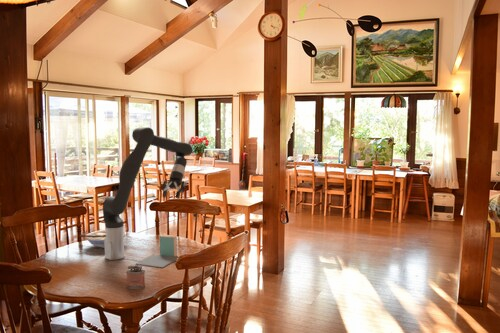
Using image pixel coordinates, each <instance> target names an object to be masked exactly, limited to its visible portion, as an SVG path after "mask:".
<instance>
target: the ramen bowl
mask: <svg viewBox="0 0 500 333" xmlns="http://www.w3.org/2000/svg"><path fill="white" fill-rule="evenodd" d="M126 235H127V232H126V231H125V230H124V238H125V236H126ZM78 237H79V238H86V239H87V242H89V243H90V244H91V245H93V246H95V247H98V248H101V249H105V246H104V241H106V229H101V230H100V229H99V230H96V231H92V232H89V233H87V234H80V235H78Z"/></svg>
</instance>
